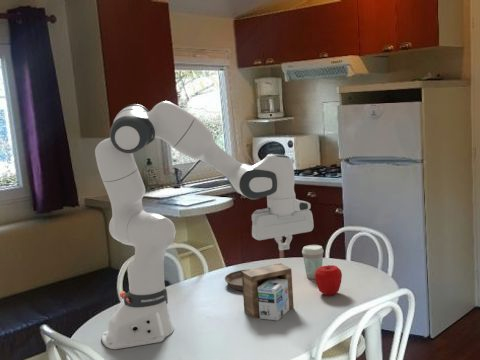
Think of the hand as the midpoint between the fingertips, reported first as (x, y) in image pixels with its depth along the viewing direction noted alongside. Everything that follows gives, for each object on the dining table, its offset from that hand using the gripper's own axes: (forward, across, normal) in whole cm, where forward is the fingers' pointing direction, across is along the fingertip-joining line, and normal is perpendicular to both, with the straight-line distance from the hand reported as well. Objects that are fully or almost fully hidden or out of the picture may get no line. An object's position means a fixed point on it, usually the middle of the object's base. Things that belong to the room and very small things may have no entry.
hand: (284, 249), depth 180 cm
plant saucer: (+24, +7, +42) cm, 49 cm away
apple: (+24, +25, +15) cm, 38 cm away
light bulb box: (+24, 0, +9) cm, 26 cm away
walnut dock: (+24, 0, +14) cm, 28 cm away
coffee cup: (+24, +31, +35) cm, 53 cm away
